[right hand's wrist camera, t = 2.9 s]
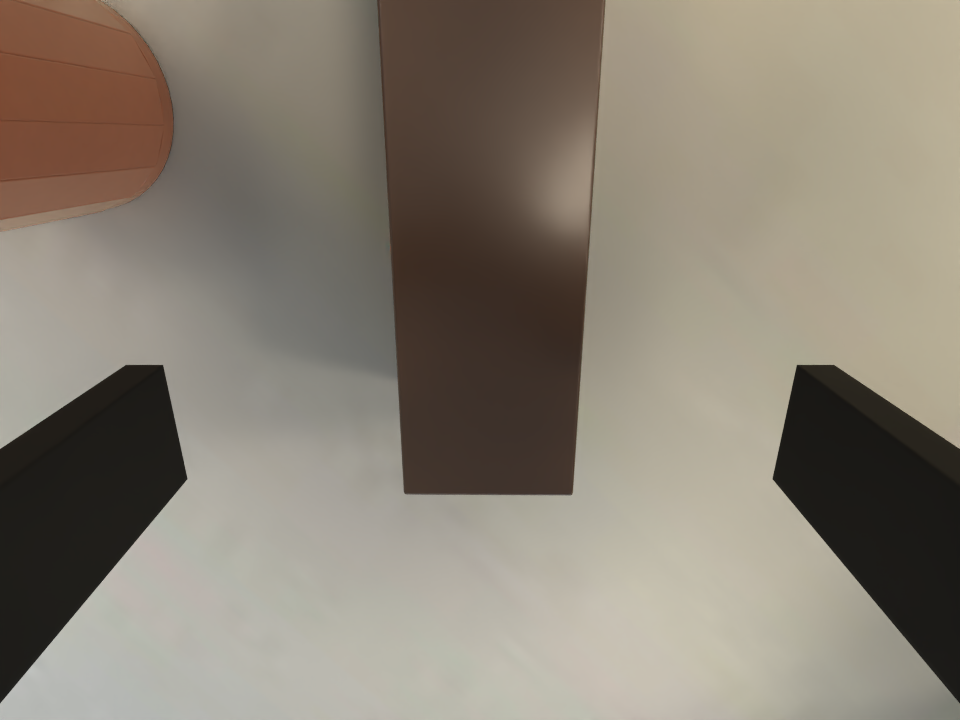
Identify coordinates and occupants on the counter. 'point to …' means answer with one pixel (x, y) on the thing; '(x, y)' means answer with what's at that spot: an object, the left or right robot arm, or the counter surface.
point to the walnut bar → (489, 235)
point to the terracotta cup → (76, 111)
